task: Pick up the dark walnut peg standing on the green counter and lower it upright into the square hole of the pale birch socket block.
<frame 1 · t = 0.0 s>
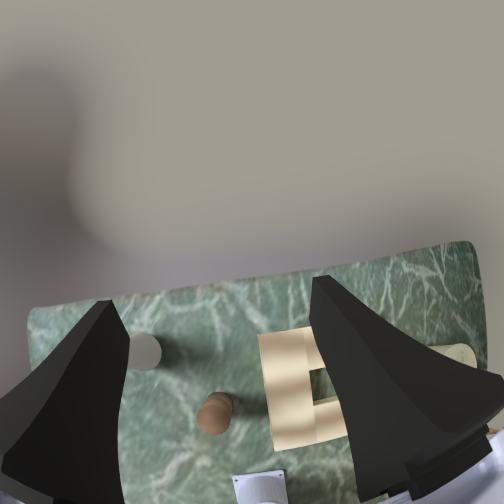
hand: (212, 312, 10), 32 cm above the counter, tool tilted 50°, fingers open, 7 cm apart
can: (415, 371, 39), on the counter
socket block: (323, 381, 38), on the counter
peg: (219, 404, 37), on the counter
salt shaker: (148, 351, 39), on the counter
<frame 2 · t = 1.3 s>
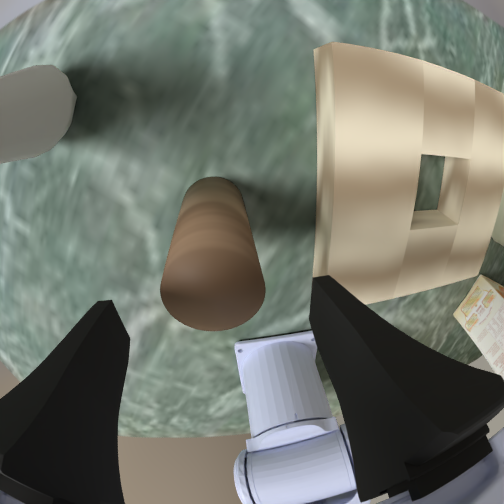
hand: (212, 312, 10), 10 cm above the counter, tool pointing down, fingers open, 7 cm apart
socket block: (419, 179, 19), on the counter
coffeecake box: (484, 300, 30), on the counter
peg: (213, 206, 18), on the counter
salt shaker: (54, 107, 13), on the counter
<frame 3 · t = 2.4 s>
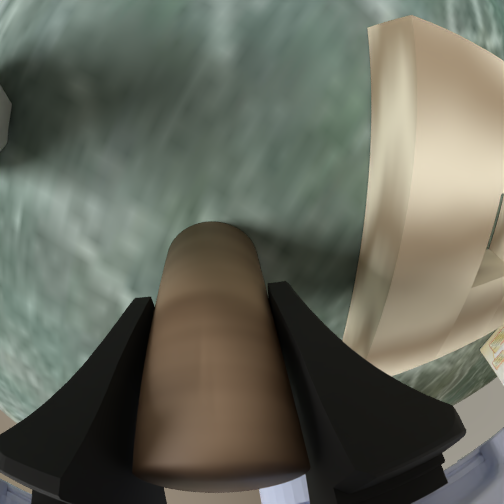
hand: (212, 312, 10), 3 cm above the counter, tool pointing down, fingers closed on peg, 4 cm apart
socket block: (479, 215, 13), on the counter
peg: (212, 263, 12), on the counter, touching gripper
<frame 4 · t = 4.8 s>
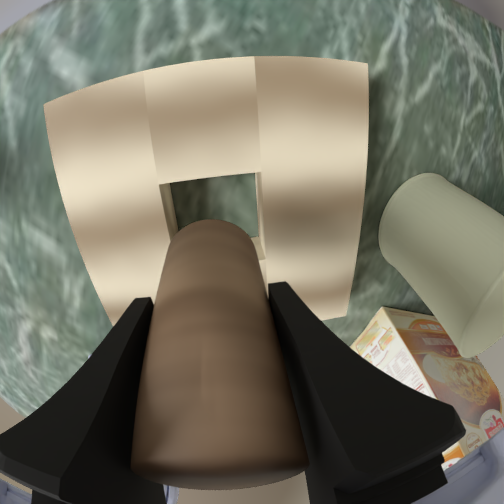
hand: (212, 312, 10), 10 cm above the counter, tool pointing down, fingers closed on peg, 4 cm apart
can: (419, 221, 21), on the counter
socket block: (215, 204, 18), on the counter
coffeecake box: (404, 332, 29), on the counter
peg: (211, 261, 12), point 7 cm above the counter, touching gripper
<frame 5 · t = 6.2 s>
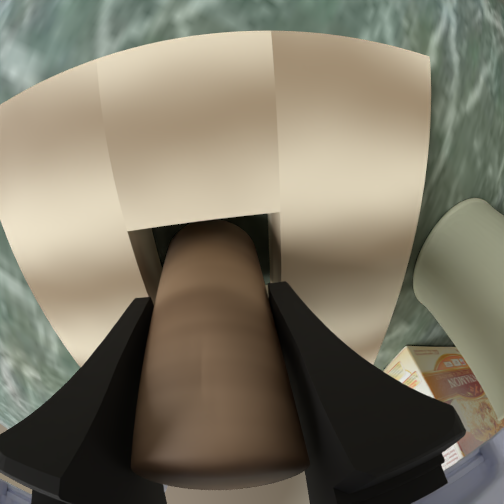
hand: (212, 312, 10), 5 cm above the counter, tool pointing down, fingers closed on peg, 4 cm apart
can: (456, 254, 16), on the counter
socket block: (212, 246, 13), on the counter
coffeecake box: (424, 365, 24), on the counter
peg: (211, 260, 12), point 1 cm above the counter, touching gripper
when the fingers open (5 cm above the counter, at t = 7.3 s): peg drops 1 cm, resting in socket block.
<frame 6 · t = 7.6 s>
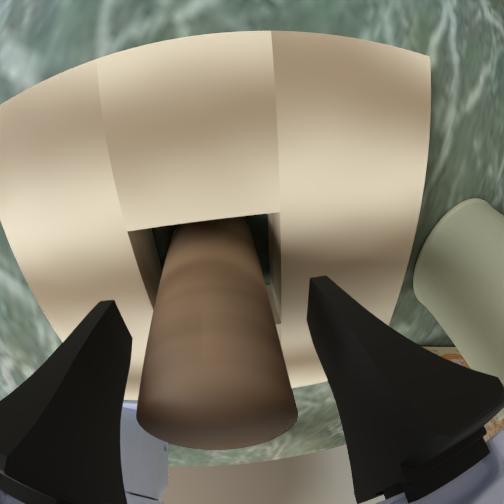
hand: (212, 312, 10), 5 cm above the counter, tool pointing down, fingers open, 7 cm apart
can: (456, 254, 16), on the counter
socket block: (212, 246, 13), on the counter
coffeecake box: (424, 365, 24), on the counter
peg: (212, 244, 13), resting in socket block
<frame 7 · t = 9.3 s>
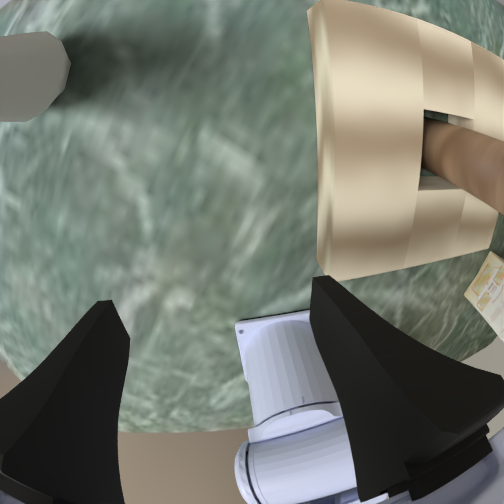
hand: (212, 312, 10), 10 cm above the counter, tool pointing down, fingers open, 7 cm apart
socket block: (423, 142, 17), on the counter
coffeecake box: (494, 280, 28), on the counter
peg: (423, 141, 17), resting in socket block
salt shaker: (48, 76, 12), on the counter
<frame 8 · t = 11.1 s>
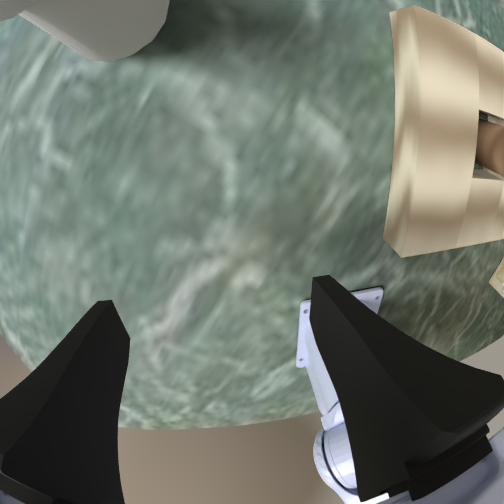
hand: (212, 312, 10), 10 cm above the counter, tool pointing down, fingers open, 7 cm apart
socket block: (470, 138, 17), on the counter
peg: (470, 137, 17), resting in socket block
salt shaker: (129, 24, 11), on the counter
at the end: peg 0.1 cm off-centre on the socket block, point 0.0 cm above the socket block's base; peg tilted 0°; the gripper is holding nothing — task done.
